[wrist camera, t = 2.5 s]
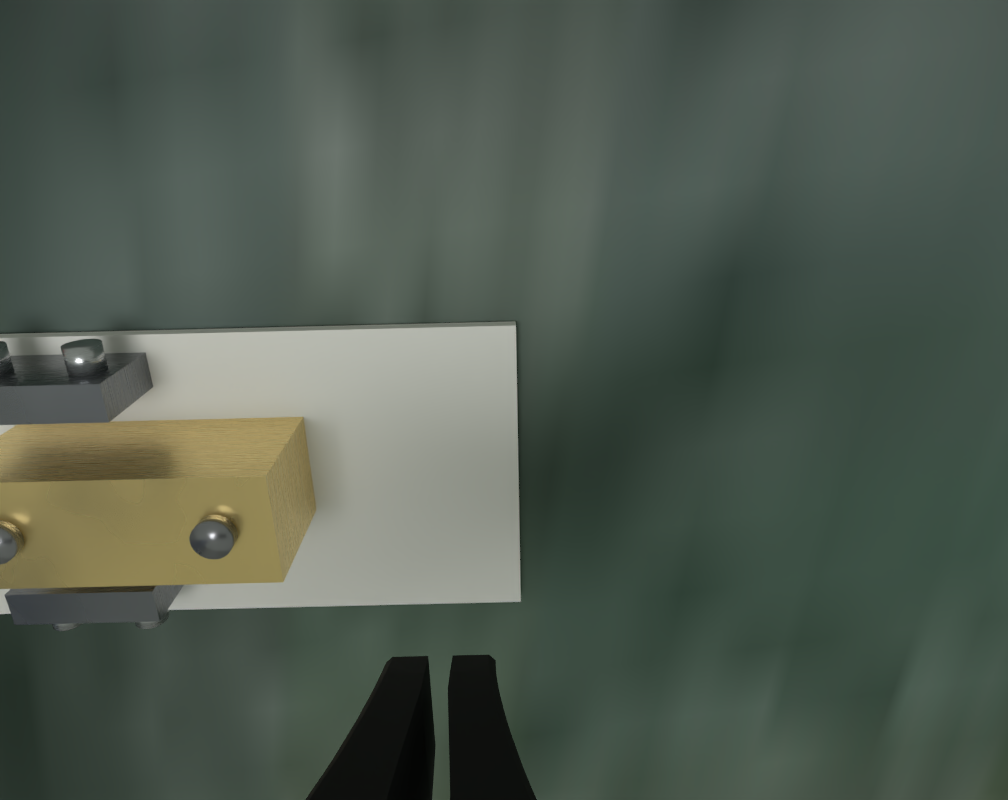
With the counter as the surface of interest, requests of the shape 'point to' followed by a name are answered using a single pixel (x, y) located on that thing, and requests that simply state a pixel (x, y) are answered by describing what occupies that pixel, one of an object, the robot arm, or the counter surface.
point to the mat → (358, 450)
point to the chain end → (78, 399)
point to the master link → (153, 502)
